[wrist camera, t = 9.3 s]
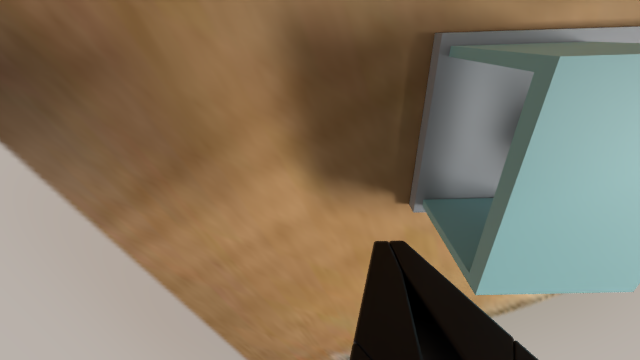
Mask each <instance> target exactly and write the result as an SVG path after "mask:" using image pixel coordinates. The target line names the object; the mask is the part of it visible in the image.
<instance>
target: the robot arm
mask: <svg viewBox="0 0 640 360" xmlns="http://www.w3.org/2000/svg"><path fill="white" fill-rule="evenodd" d="M350 360H538V359H537V358H536V357H535V356H533V355H532V354H531V353H530V352H529V351H528V350H526V348H524V347H523V346H522V345H521V344H520V343H519V342H518V341H514V339H513V337H512V336H511V335H510V334H508V333H507V332H506V331H505V330H504V329H503V328H502V327H500V326H499V325H498V324H497V323H496V322H495V321H494V320H493V319H491V318H490V317H489V316H488V315H487V314H486V313H485V312H484V311H482V310H481V309H480V308H479V307H478V306H477V305H476V304H474V303H473V302H472V301H471V300H470V299H469V298H468V297H467V296H465V295H464V294H463V293H462V292H461V291H460V290H459V289H458V288H456V287H455V286H454V285H453V284H452V283H451V282H450V281H449V280H447V279H446V278H445V277H444V276H443V275H442V274H441V273H439V272H438V271H437V270H436V269H435V268H434V267H433V266H432V265H430V264H429V263H428V262H427V261H426V260H425V259H424V258H423V257H421V256H420V255H419V254H418V253H417V252H416V251H415V250H413V249H412V248H411V247H410V246H409V245H408V244H407V243H406V242H404V241H390V242H387V241H375V242H374V245H373V250H372V255H371V260H370V264H369V269H368V274H367V279H366V284H365V289H364V293H363V298H362V303H361V308H360V313H359V318H358V322H357V327H356V332H355V337H354V344H353V346H352V350H351V355H350Z"/></svg>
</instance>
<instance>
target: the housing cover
mask: <svg viewBox="0 0 640 360" xmlns="http://www.w3.org/2000/svg"><path fill="white" fill-rule="evenodd" d="M449 57H453V58H459V59H465V60H470V61H476V62H481V63H487V64H492V65H498V66H503V67H509V68H514V69H520V70H526V71H531V72H534V74H533V77H532V80H531V83H530V87H529V90H528V93H527V96H526V99H525V102H524V105H523V108H522V111H521V115H520V118H519V121H518V124H517V127H516V130H515V133H514V136H513V139H512V142H511V146H510V149H509V152H508V155H507V158H506V161H505V164H504V167H503V170H502V174H501V177H500V180H499V183H498V186H497V189H496V192H495V195H494V198H469V199H429V200H423V205H422V206H423V208H424V210H425V211H426V213H427V215H428V216H429V218H430V220H431V221H432V223H433V225H434V226H435V228H436V230H437V231H438V233H439V235H440V236H441V238H442V240H443V241H444V243H445V245H446V246H447V248H448V250H449V252H450V253H451V255H452V257H453V258H454V260H455V262H456V263H457V265H458V267H459V268H460V270H461V272H462V273H463V275H464V277H465V278H466V280H467V282H468V283H469V285H470V287H471V288H472V290H473V292H474V293H475V295H503V294H551V293H600V292H633V291H634V290H635V289H636V287H637V286H638V285H639V283H640V43H618V42H561V43H529V44H498V45H466V46H451V48H450V54H449Z"/></svg>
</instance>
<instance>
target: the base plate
mask: <svg viewBox="0 0 640 360" xmlns="http://www.w3.org/2000/svg"><path fill="white" fill-rule="evenodd" d="M561 42H618V43H640V26H637V27H606V28H575V29H544V30H513V31H482V32H451V33H435V37H434V43H433V50H432V57H431V63H430V70H429V76H428V83H427V90H426V96H425V103H424V110H423V116H422V123H421V129H420V136H419V143H418V149H417V156H416V163H415V169H414V176H413V182H412V189H411V196H410V202H409V205H410V207H411V209H412V211H413V212H426V211H425V210H424V208H423V206H422V205H423V200H429V199H469V198H494V195H495V192H496V189H497V186H498V183H499V180H500V177H501V174H502V170H503V167H504V164H505V161H506V158H507V155H508V152H509V149H510V146H511V142H512V139H513V136H514V133H515V130H516V127H517V124H518V121H519V118H520V115H521V111H522V108H523V105H524V102H525V99H526V96H527V93H528V90H529V87H530V83H531V80H532V77H533V74H534V72H531V71H526V70H520V69H514V68H509V67H503V66H498V65H492V64H487V63H481V62H476V61H470V60H465V59H459V58H453V57H449V54H450V48H451V46H466V45H498V44H529V43H561Z"/></svg>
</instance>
